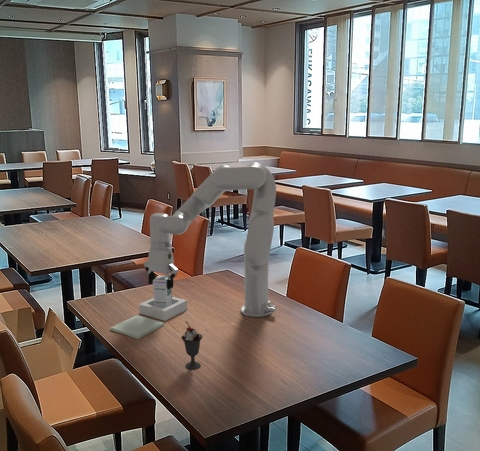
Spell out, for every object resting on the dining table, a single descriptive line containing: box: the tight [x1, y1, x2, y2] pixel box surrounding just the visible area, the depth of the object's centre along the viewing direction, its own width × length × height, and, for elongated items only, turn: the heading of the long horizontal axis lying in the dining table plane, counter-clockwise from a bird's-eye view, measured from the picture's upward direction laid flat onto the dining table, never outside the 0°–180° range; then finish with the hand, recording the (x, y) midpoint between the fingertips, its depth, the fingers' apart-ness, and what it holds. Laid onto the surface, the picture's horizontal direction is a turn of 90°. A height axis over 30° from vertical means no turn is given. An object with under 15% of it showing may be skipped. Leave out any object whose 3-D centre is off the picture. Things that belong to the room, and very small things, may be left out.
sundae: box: [181, 321, 203, 370], centre depth 166 cm, size 7×7×15 cm
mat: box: [110, 314, 165, 340], centre depth 196 cm, size 14×14×1 cm
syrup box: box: [152, 275, 173, 309], centre depth 210 cm, size 6×6×14 cm
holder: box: [138, 296, 188, 322], centre depth 211 cm, size 14×14×4 cm
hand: (161, 285), depth 209 cm, fingers open, 9 cm apart
